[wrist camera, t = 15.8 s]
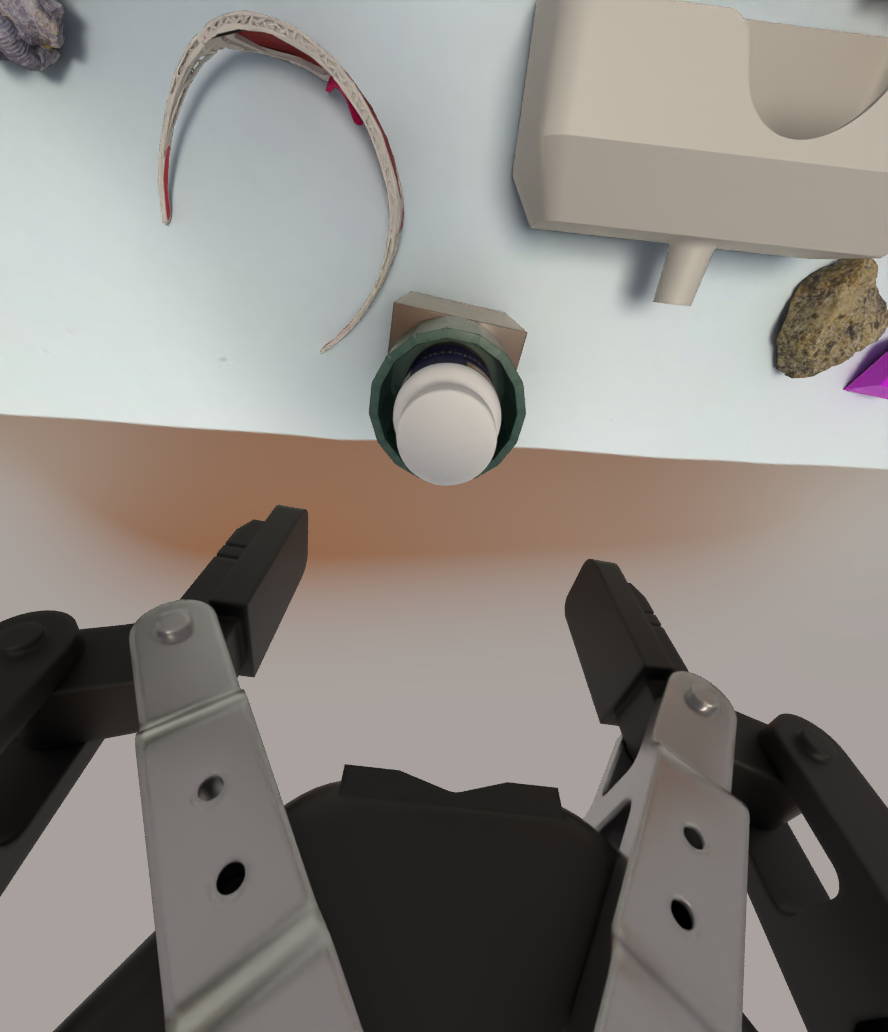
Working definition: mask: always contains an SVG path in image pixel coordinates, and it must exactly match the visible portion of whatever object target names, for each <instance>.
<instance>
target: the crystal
mask: <svg viewBox="0 0 888 1032" xmlns="http://www.w3.org/2000/svg"><path fill="white" fill-rule="evenodd" d="M844 390H847V391H852V392H857V393H861V394H866V395H870V396H875V397H880V398H884V399H888V351H887V352H886V353H885V354H884V355H883V356H881V357H880V358H879V359H878V360H877V361H876V362H875V363H873V364H872V365H871V366H870V367H869V368H868V369H867V370H865V371H864V372H863V373H862V374H861V375H860V376H859V377H857V378H856V379H855V380H854V381H853V382H852V383H851V384H850V385H848V386H847V387H846V388H845V389H844Z"/></svg>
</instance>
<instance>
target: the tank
mask: <svg viewBox="0 0 888 1032" xmlns="http://www.w3.org/2000/svg"><path fill="white" fill-rule="evenodd" d="M512 176H513V179H514V182H515V185H516V188H517V190H518V193H519V196H520V199H521V202H522V205H523V208H524V211H525V213H526V216H527V219H528V222H529V225H530V227H531V228H535V229H542V230H551V231H561V232H570V233H579V234H588V235H597V236H606V237H615V238H624V239H633V240H642V241H651V242H661V243H668V245H669V250H668V253H667V257H666V260H665V263H664V267H663V270H662V273H661V277H660V280H659V283H658V287H657V290H656V293H655V297H654V300H653V302H658V303H666V304H674V305H683V306H691V304H692V302H693V299H694V297H695V295H696V292H697V290H698V287H699V285H700V283H701V280H702V278H703V275H704V273H705V271H706V268H707V266H708V263H709V261H710V259H711V256H712V254H713V252H714V250H715V249H724V250H733V251H742V252H752V253H761V254H770V255H779V256H788V257H797V258H808V259H856V258H882V257H883V256H885V255H887V254H888V38H886V37H879V36H871V35H863V34H856V33H848V32H841V31H833V30H825V29H818V28H810V27H802V26H795V25H787V24H780V23H772V22H764V21H757V20H749V19H744V18H743V16H742V15H741V14H740V13H739V12H738V11H737V10H735V9H733V8H729V7H721V6H714V5H706V4H698V3H691V2H683V1H676V0H537V1H536V9H535V16H534V23H533V30H532V37H531V44H530V52H529V59H528V66H527V73H526V80H525V87H524V94H523V102H522V109H521V116H520V123H519V130H518V137H517V144H516V152H515V159H514V166H513V173H512Z"/></svg>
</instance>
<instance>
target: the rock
mask: <svg viewBox="0 0 888 1032" xmlns="http://www.w3.org/2000/svg"><path fill="white" fill-rule="evenodd" d="M877 271H878V266H877V264H876V262H875V261H874V260H873V259H872V258H856V259H841V260H839V261H838V262H836V263H835V264H834V265H833V266H828V267H823V268H821V269H820V270H818V271H816V272H814V273H812V274H811V275H810V276H809V277H807V278H806V279H805V280H804V281H803V282H802V283H801V284H800V286H799V287H798V289H797V291H796V292H795V295H794V297H793V298H792V300H791V302H790V307H789V310H788V313H787V316H786V320H785V322H784V324H783V326H782V330H781V332H780V333H779V334H778V335H777V341H776V345H777V347H778V352H777V357H778V358H777V361H778V363H777V364H776V369H779V370H781V371H782V372H784V373H786V374H785V375H786V376H789V377H791V378H805V377H811V376H814V375H816V374H818V373H820V372H822V371H825V370H827V369H829V368H830V367H831V366H836V365H839V364H841V363H843V362H844V361H846V360H848V359H849V358H851V357H852V356H853V355H854V353H855V352H857V351H861V350H863V349H864V348H865V347H866V346H867V345H869V344H871V343H873V342H876V341H877V340H878V339H879V338H880V337H881V335H882V334H883V333H884V332H885V330H886V328H887V326H888V310H887V306H886V302H885V301H884V300H883V299H882V297H881V296H880V295H879V291H878V289H877V287H876V285H875V284H876V281H875V279H876V278H877Z"/></svg>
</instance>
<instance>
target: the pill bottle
mask: <svg viewBox="0 0 888 1032" xmlns="http://www.w3.org/2000/svg"><path fill="white" fill-rule="evenodd" d="M393 423H394V429H395V432H396V440H397V447H398V451H399V454H400V456H401V458H402V460H403V462H404V463H405V465H406V466H407V467H408V469H409V470H410V471H411V472H412V473H414V474H415V475H416V476H417V477H419V478H421V479H422V480H425V481H427V482H430V483H433V484H436V485H444V486H447V485H457V484H461V483H464V482H467V481H469V480H471V479H473V478H475V477H476V476H478V475H479V474H480V473H481V472H482V471H483V470H484V469H485V468H486V467H487V466H488V464H489V463H490V461H491V459H492V457H493V455H494V452H495V449H496V444H497V436H498V434H499V430H500V425H501V407H500V402H499V399H498V395H497V393H496V390H495V387H494V383H493V381H492V378H491V375H490V372H489V369H488V367H487V365H486V364H485V362H484V360H483V359H482V358H481V357H480V356H479V355H478V354H477V353H476V352H475V351H474V350H472V349H471V348H469V347H467V346H465V345H463V344H460V343H454V342H443V343H438V344H435V345H432V346H430V347H428V348H427V349H425V350H424V351H422V352H421V353H420V354H419V355H418V356H417V357H416V359H415V360H414V361H413V363H412V364H411V366H410V368H409V370H408V372H407V375H406V377H405V379H404V382H403V384H402V386H401V388H400V390H399V392H398V394H397V397H396V400H395V404H394V410H393Z"/></svg>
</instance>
